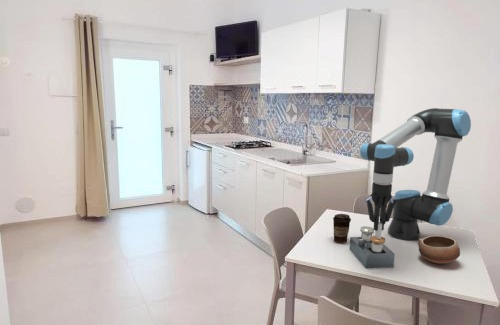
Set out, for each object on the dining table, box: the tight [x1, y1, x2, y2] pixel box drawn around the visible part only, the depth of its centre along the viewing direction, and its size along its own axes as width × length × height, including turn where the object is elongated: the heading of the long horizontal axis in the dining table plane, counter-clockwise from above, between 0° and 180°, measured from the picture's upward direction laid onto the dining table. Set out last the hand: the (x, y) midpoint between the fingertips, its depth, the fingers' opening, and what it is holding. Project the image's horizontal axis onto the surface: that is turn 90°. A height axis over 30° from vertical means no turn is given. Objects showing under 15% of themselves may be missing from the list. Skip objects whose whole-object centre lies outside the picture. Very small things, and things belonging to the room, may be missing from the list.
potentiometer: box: [358, 239, 365, 247], centre depth 163 cm, size 3×3×3 cm
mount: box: [349, 236, 396, 269], centre depth 165 cm, size 12×19×6 cm, turn 5°
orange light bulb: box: [370, 235, 386, 254], centre depth 159 cm, size 6×6×10 cm
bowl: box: [417, 235, 461, 264], centre depth 162 cm, size 16×16×10 cm
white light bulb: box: [359, 225, 375, 243], centre depth 169 cm, size 6×6×10 cm
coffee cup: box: [332, 213, 352, 244], centre depth 182 cm, size 9×8×13 cm
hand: (377, 237), depth 158 cm, fingers closed
